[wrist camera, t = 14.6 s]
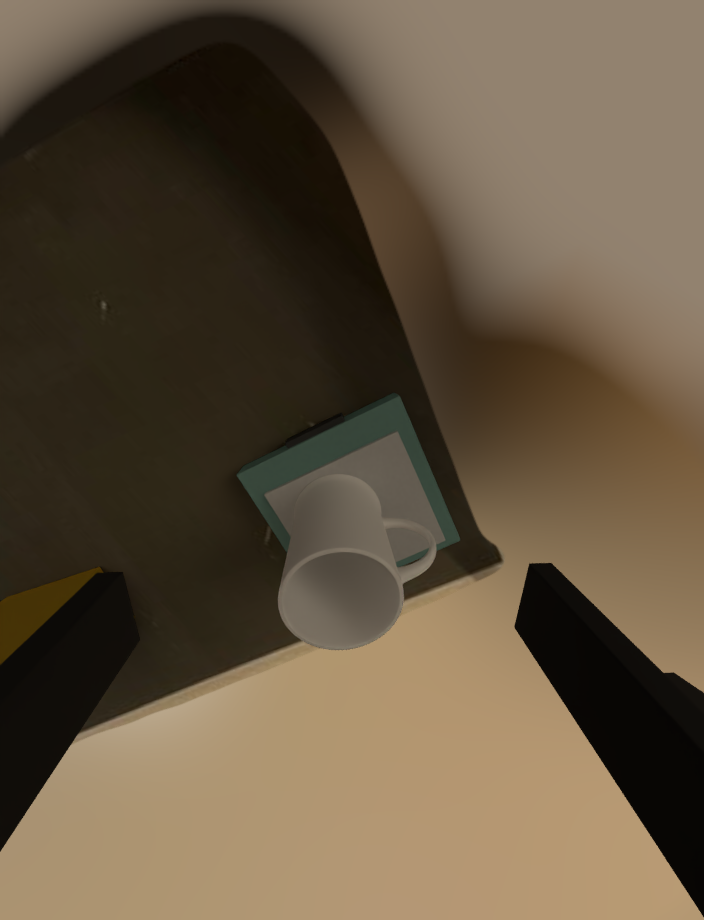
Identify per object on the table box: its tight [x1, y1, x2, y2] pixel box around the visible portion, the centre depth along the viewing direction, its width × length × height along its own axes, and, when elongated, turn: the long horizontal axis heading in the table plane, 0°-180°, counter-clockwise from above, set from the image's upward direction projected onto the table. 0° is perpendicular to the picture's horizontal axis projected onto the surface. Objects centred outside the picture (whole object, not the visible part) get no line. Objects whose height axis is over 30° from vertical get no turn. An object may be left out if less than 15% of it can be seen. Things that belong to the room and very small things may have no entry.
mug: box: [278, 474, 436, 650], centre depth 26 cm, size 12×8×12 cm
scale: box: [237, 393, 460, 567], centre depth 33 cm, size 17×18×3 cm
